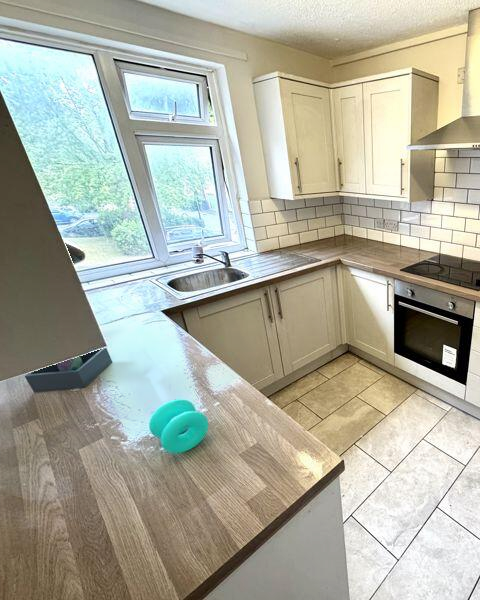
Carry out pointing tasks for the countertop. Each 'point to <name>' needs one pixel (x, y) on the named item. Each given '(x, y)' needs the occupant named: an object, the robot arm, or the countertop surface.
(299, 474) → the countertop surface
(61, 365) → the spray can
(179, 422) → the turquoise spool
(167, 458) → the countertop surface
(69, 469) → the countertop surface
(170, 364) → the countertop surface
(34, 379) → the bin
